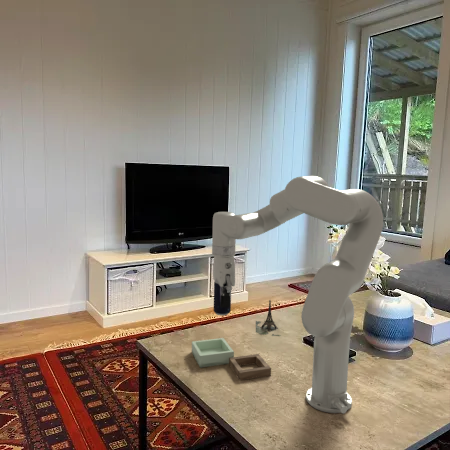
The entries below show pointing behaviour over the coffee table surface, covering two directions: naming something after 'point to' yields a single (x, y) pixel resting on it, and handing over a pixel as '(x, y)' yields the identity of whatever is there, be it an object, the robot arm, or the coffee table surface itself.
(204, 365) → the tray
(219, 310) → the beverage can
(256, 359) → the socket block
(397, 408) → the coffee table surface
